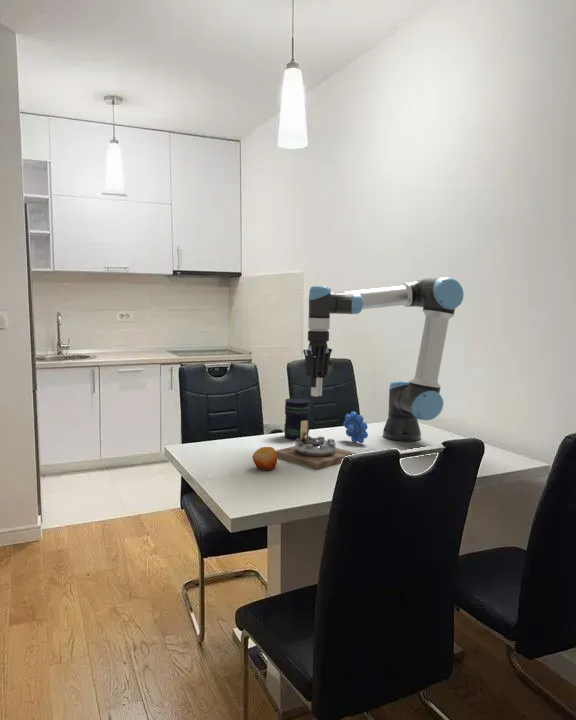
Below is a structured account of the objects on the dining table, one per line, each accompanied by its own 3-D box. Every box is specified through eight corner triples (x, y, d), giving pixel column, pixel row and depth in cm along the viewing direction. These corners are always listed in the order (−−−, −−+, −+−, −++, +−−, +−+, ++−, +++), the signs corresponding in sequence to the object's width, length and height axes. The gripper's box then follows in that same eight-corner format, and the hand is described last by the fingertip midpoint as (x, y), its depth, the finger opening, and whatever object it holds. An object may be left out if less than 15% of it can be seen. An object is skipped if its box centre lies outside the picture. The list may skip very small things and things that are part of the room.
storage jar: (309, 440, 220) (310, 403, 219) (283, 440, 220) (284, 402, 219) (308, 434, 230) (309, 398, 228) (284, 434, 230) (285, 397, 229)
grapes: (336, 441, 221) (337, 410, 220) (347, 438, 226) (348, 408, 224) (359, 447, 213) (361, 415, 211) (370, 444, 217) (372, 413, 216)
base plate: (312, 446, 211) (312, 440, 211) (355, 458, 197) (355, 451, 197) (274, 456, 197) (274, 449, 197) (317, 469, 183) (317, 462, 183)
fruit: (285, 462, 186) (279, 444, 181) (274, 479, 180) (267, 461, 176) (264, 458, 190) (258, 440, 185) (253, 474, 184) (246, 457, 180)
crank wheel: (313, 443, 207) (314, 418, 206) (343, 451, 197) (344, 424, 196) (286, 450, 197) (287, 423, 196) (316, 459, 187) (317, 430, 186)
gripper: (323, 329, 208) (321, 392, 211) (296, 329, 198) (295, 396, 200) (339, 330, 203) (337, 395, 206) (312, 331, 193) (310, 399, 195)
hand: (316, 395), depth 203 cm, fingers closed
